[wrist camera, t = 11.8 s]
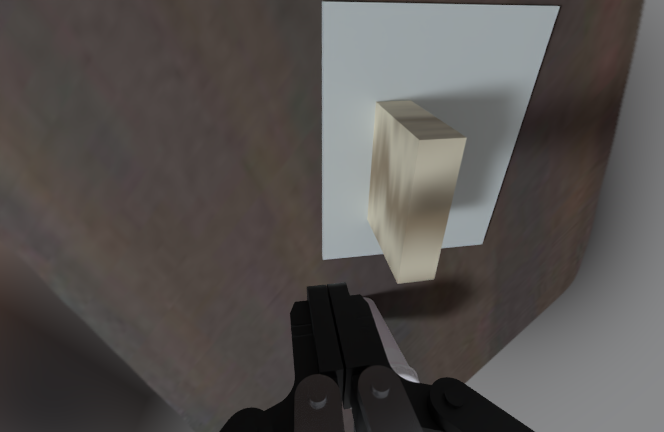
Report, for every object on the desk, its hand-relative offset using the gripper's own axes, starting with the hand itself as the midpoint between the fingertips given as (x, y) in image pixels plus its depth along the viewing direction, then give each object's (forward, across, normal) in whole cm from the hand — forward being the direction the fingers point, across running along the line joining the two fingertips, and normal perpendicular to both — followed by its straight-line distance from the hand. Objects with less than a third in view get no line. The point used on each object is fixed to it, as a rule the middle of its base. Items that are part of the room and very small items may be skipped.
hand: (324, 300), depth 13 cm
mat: (+15, -10, 0) cm, 18 cm away
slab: (+14, -7, +1) cm, 16 cm away
